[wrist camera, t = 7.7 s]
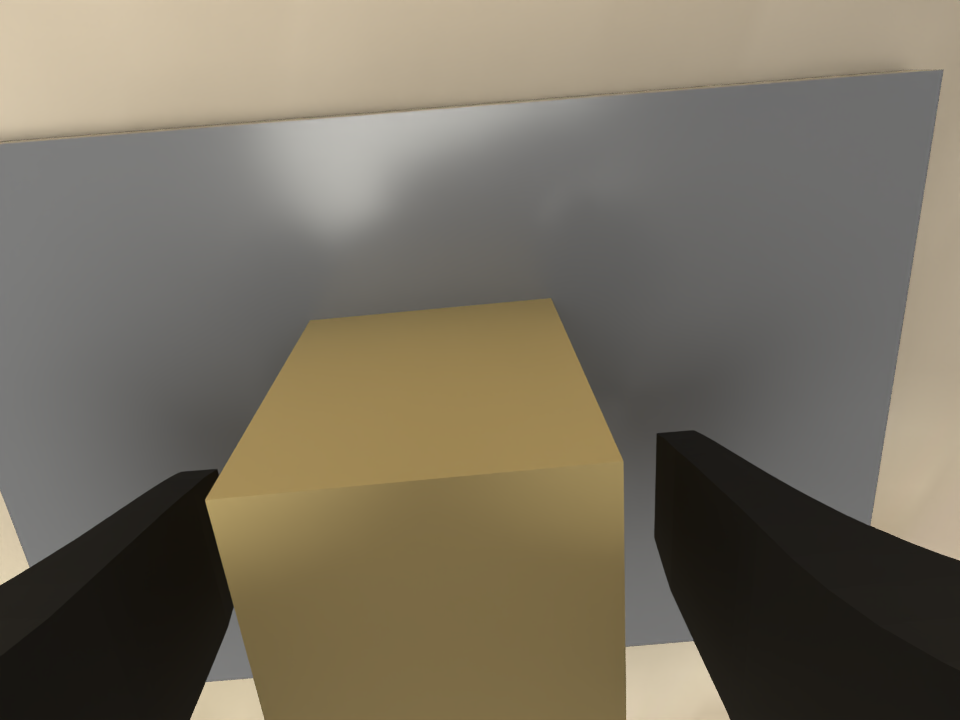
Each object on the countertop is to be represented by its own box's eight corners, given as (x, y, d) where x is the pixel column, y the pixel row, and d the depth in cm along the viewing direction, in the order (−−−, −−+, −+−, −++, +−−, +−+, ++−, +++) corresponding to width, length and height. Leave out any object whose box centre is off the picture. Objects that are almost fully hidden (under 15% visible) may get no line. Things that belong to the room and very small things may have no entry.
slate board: (908, 70, 13) (943, 69, 12) (832, 597, 17) (853, 627, 16) (-86, 148, 13) (-129, 154, 12) (97, 659, 17) (77, 692, 16)
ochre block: (550, 298, 13) (623, 461, 8) (560, 503, 15) (626, 760, 9) (310, 320, 13) (205, 500, 8) (347, 523, 15) (284, 792, 9)
